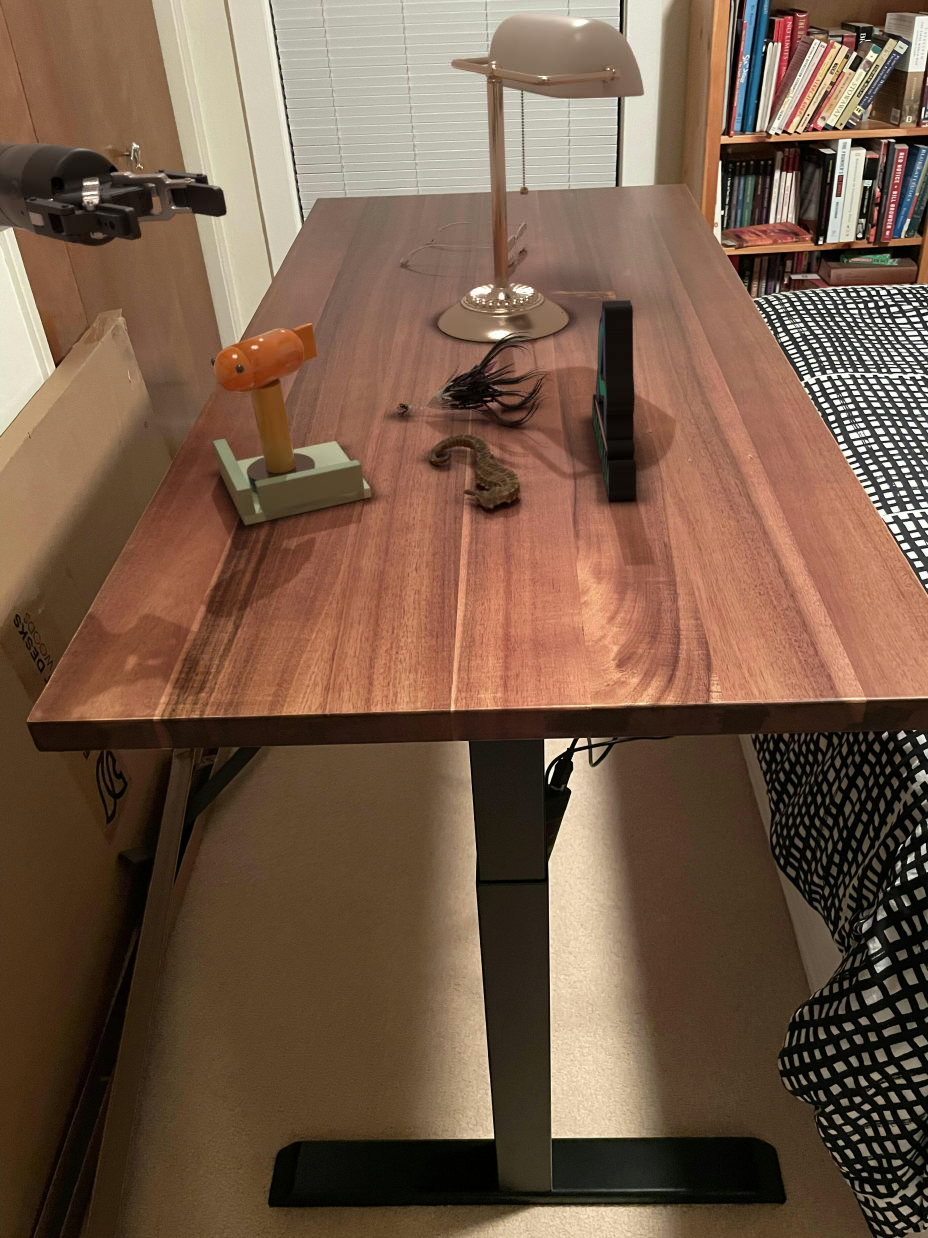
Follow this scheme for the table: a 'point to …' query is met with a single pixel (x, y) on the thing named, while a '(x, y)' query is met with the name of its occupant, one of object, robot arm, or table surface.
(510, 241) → the eyeglasses
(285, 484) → the corner tray
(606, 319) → the decorative sign
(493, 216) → the lamp
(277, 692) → the table surface
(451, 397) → the feather lure
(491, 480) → the seahorse
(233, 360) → the goldfish figurine
